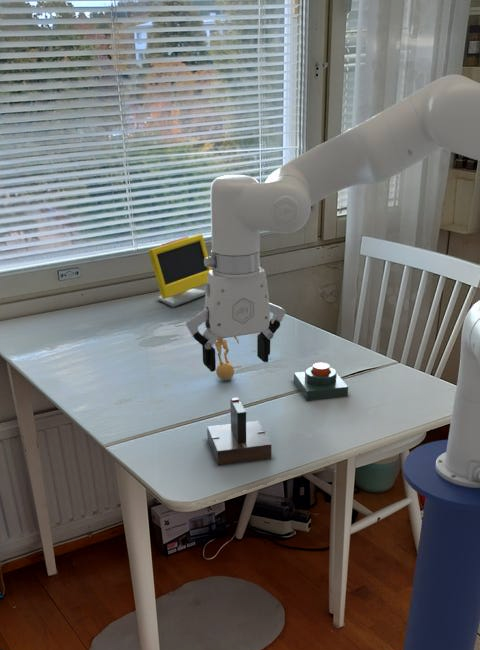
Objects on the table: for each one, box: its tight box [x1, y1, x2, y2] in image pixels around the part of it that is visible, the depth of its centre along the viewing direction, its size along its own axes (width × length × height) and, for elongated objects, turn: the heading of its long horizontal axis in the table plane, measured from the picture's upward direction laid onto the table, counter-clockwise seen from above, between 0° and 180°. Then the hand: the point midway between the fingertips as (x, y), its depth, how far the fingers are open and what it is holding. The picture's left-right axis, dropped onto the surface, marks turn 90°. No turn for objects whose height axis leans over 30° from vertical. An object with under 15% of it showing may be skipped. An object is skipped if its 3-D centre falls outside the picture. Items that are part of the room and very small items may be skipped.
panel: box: [206, 420, 272, 466], centre depth 146 cm, size 10×10×3 cm
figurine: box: [214, 336, 240, 381], centre depth 171 cm, size 8×6×12 cm
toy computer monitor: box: [147, 233, 212, 308], centre depth 215 cm, size 20×8×16 cm, turn 140°
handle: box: [229, 397, 247, 443], centre depth 143 cm, size 6×2×6 cm, turn 13°
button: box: [312, 362, 331, 376], centre depth 166 cm, size 4×4×2 cm
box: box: [293, 365, 349, 402], centre depth 167 cm, size 10×9×4 cm
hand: (236, 364), depth 133 cm, fingers open, 9 cm apart
